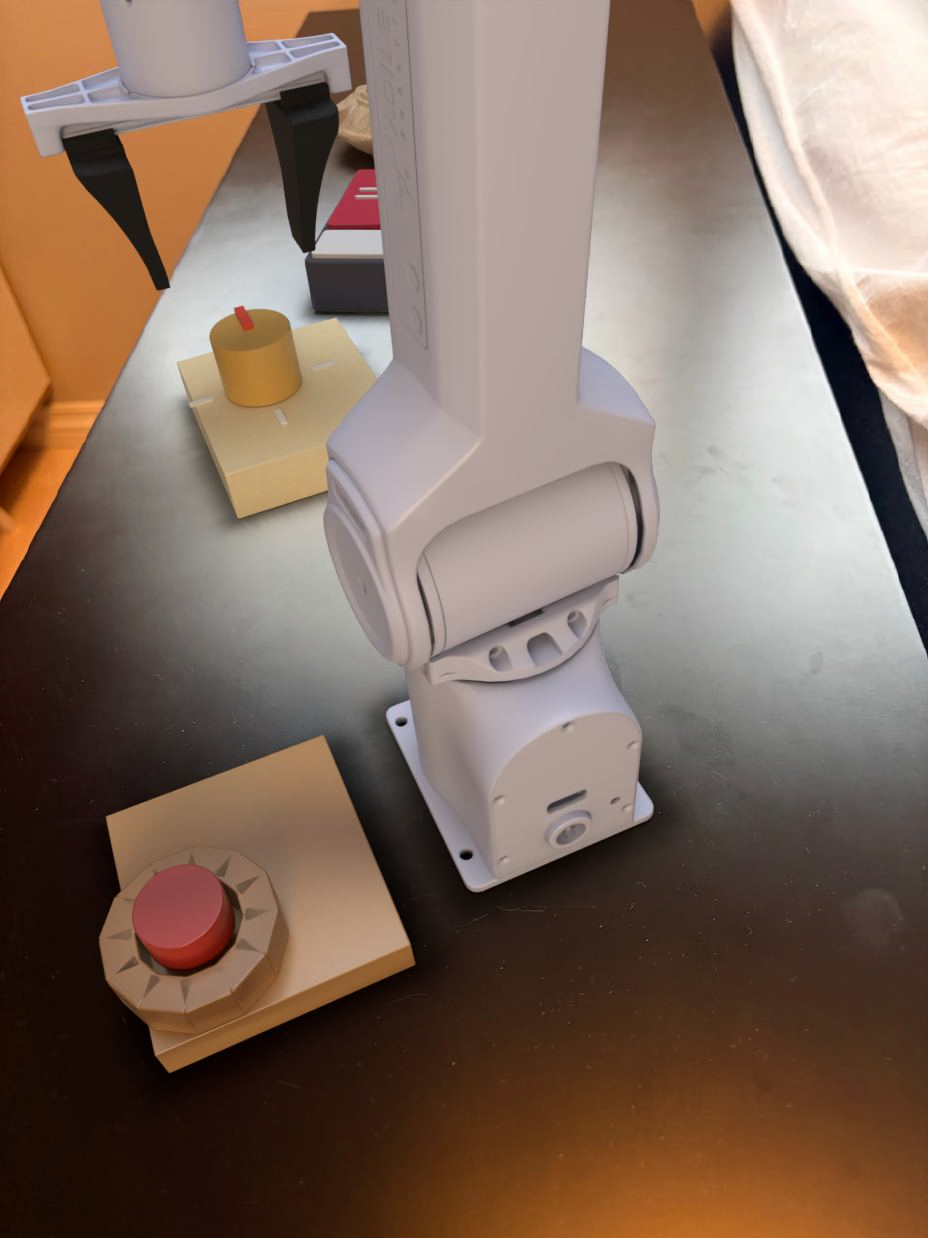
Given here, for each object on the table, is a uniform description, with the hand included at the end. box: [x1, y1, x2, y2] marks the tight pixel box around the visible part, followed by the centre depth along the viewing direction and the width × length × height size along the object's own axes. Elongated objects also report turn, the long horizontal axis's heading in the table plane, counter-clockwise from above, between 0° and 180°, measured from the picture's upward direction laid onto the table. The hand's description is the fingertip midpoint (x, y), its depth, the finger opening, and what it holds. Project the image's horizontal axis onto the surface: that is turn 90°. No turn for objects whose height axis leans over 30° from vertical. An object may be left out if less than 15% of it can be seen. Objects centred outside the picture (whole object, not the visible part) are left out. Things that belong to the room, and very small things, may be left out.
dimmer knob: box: [208, 305, 302, 407], centre depth 55 cm, size 4×4×4 cm
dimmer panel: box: [176, 317, 378, 520], centre depth 57 cm, size 12×10×3 cm
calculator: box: [304, 169, 389, 313], centre depth 70 cm, size 11×4×15 cm
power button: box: [132, 864, 236, 971], centre depth 33 cm, size 3×3×2 cm
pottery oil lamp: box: [336, 84, 374, 158], centre depth 83 cm, size 9×12×7 cm
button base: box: [98, 734, 416, 1074], centre depth 36 cm, size 10×10×4 cm
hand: (233, 261), depth 51 cm, fingers open, 7 cm apart
